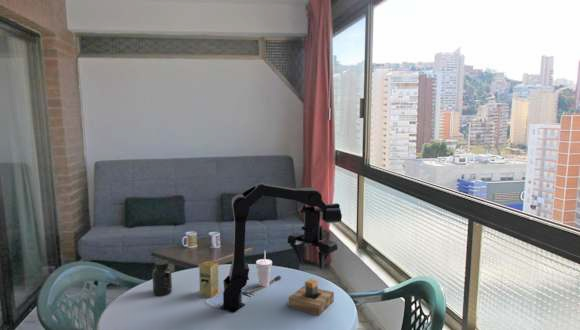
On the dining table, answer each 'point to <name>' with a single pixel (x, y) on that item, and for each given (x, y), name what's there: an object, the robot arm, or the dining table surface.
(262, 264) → the smoothie
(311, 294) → the orange and grey peg
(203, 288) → the shoe polish box
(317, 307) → the block
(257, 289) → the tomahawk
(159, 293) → the supplement bottle
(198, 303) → the dining table surface
